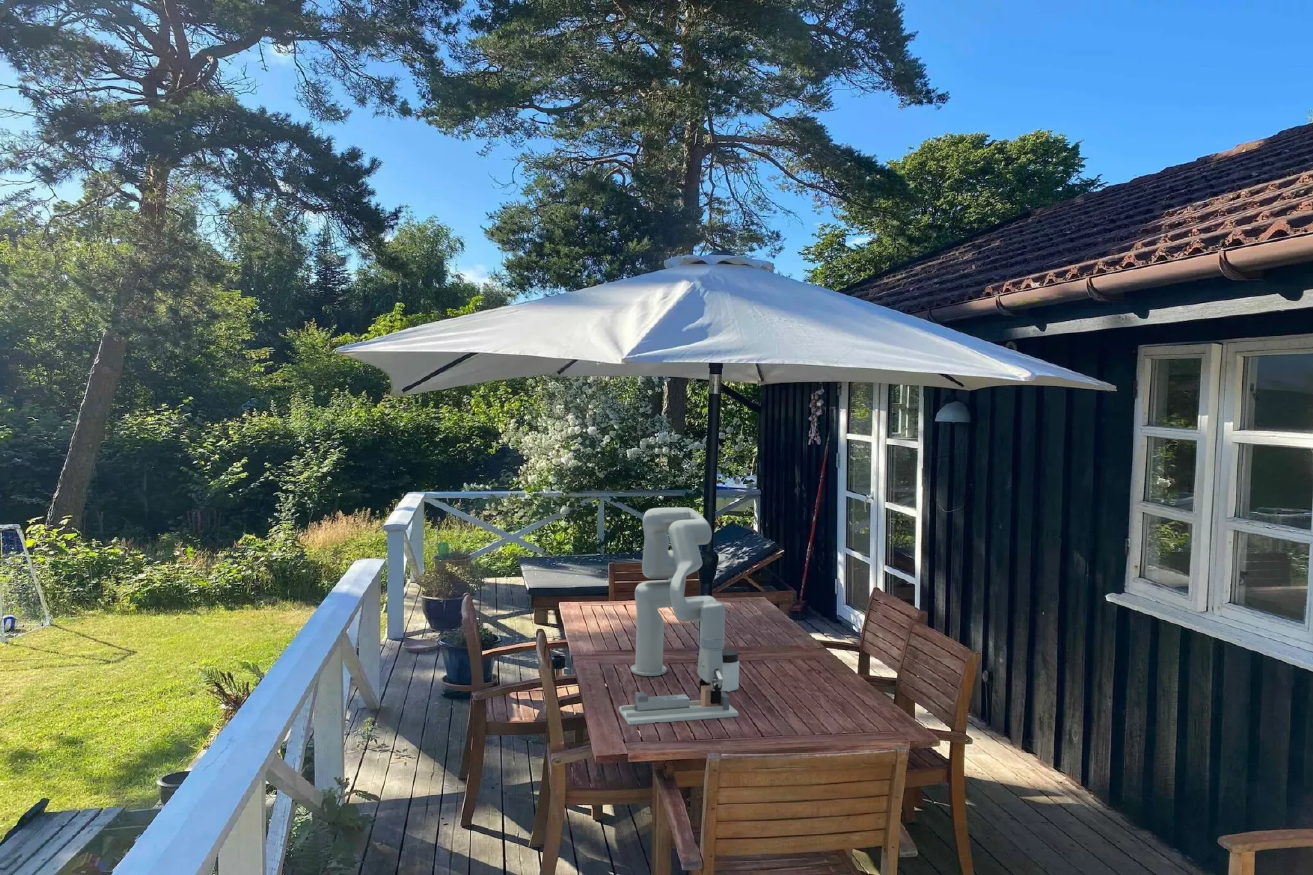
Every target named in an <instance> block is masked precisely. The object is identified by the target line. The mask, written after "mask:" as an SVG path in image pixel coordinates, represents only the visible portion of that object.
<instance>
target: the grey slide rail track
mask: <svg viewBox="0 0 1313 875" xmlns="http://www.w3.org/2000/svg"><path fill="white" fill-rule="evenodd" d="M700 703H701V699H695V700H690V707H689V708H682V709H668V710H655V711H641V712H636V711H635V704H627V705H625V704H624V705H621V706H618V712H619V713H620V715H621V716H622V718H623V719H624V720H625V722H626V723H627V725H629V726H632V725H645V723H646V724H656V723H655V722H659V723H670V722H672V723H673V722H681V721H683V722H684V721H685V722H686V721H696V720H698V721H699V720H709V719H719V718H720V719H722V718H732V717H734V718H735V717H739V712H738V711H737V709H735V708H734V706H732V705H731V703H730V696H729V695H728V694H727V693H726V692H725V691H721V703H720V704H718V706H709V707H702V706H701V705H700Z"/></svg>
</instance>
